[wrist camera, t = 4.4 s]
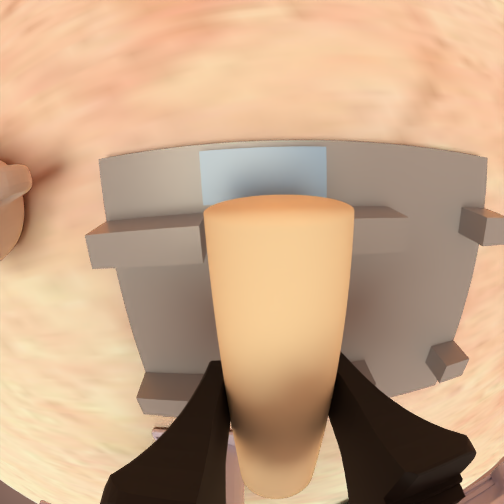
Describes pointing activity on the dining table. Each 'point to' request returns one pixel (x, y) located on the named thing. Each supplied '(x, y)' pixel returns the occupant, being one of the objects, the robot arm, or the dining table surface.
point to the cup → (12, 203)
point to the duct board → (362, 264)
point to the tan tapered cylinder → (279, 327)
